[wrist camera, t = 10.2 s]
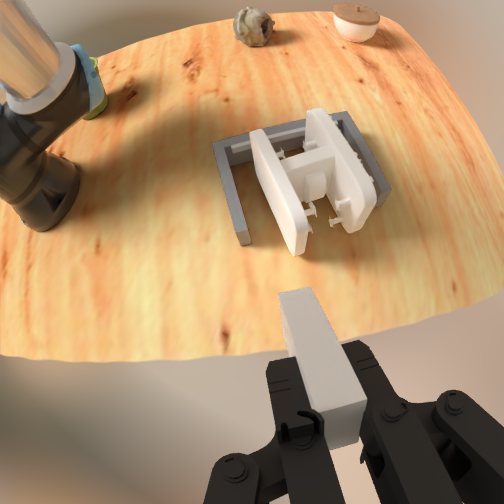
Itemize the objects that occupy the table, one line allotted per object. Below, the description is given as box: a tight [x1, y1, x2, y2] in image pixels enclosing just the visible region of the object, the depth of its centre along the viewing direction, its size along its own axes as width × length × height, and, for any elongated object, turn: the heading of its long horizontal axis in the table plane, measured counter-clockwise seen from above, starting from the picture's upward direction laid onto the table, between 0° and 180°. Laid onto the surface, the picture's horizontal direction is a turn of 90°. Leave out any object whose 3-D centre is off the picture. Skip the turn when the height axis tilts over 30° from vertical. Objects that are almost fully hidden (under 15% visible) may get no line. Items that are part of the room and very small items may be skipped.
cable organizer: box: [249, 107, 377, 257], centre depth 36 cm, size 15×11×12 cm
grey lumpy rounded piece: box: [233, 7, 275, 46], centre depth 52 cm, size 9×8×10 cm
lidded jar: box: [333, 3, 380, 43], centre depth 50 cm, size 11×11×9 cm
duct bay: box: [212, 111, 391, 246], centre depth 41 cm, size 14×21×5 cm
